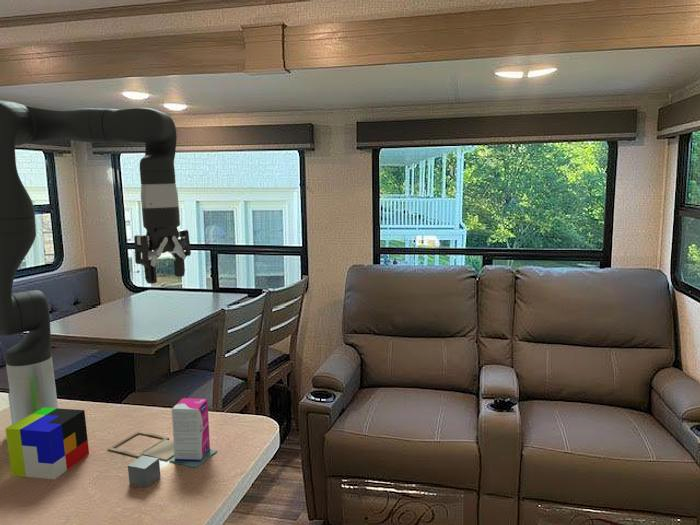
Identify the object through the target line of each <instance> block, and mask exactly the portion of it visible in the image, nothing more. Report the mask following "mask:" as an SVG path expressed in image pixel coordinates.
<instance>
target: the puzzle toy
mask: <svg viewBox="0 0 700 525" xmlns="http://www.w3.org/2000/svg"><path fill="white" fill-rule="evenodd" d="M85 412H86V411H85V410H84V409H73V408H59V407H58V408H45V407H44V408H42V409H40V410H38V411H36V412H35V413H33V414H31V415H29V416H27V417H25V418H24V419H22V420H20V421H18V422H16V423H15V424H13V425H12V424H11V425H9V426H7V427H6V428H5V435H6V442H7V450H8V459H9V464H10V465H9V466H10V474H11V475H12V476H17V477H28V478H37V479H46V480H47V479H48V480H56V479H58V478H59V477H60V476H62V475H63V474H64V473H65V472H67V471H68V470H69V469H71V468H73V465H74V464H75V465H77V464H78V463H79V462H80V461H82V460H83V459H84V458H85V456H86V457H87V456H88V455H90V449H89V447H90V446H89V441H88V440H89V439H88V429H87V421H86V413H85ZM82 458H83V459H82ZM81 459H82V460H81ZM78 461H79V462H78ZM77 462H78V463H77ZM75 465H74V466H75ZM70 467H71V468H70Z"/></svg>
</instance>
